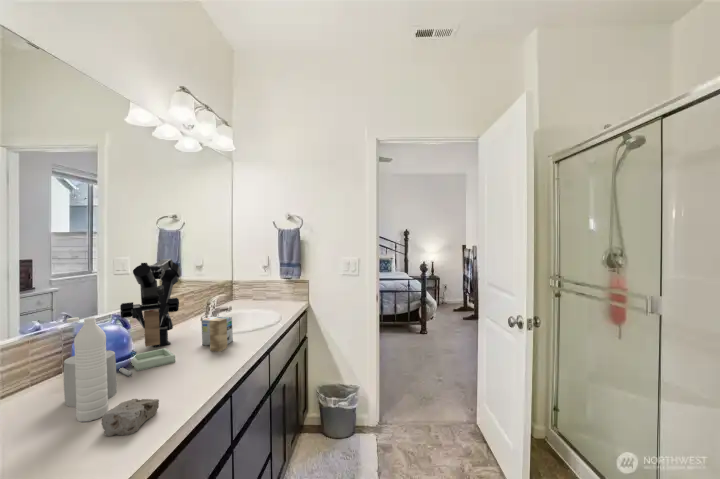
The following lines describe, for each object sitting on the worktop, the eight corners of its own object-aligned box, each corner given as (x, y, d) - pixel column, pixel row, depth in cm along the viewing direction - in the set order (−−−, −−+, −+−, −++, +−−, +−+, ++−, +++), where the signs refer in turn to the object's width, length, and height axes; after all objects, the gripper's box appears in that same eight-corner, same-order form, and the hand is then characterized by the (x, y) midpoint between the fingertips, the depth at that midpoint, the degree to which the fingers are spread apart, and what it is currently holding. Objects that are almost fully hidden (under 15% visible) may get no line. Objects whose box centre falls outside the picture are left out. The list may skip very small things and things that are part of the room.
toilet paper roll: (125, 393, 105) (124, 353, 105) (77, 411, 95) (76, 367, 95) (103, 385, 111) (102, 348, 111) (55, 401, 100) (54, 360, 100)
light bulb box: (233, 340, 156) (232, 316, 156) (226, 345, 149) (225, 319, 149) (209, 340, 157) (209, 316, 157) (201, 345, 150) (200, 319, 150)
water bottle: (114, 409, 95) (111, 314, 95) (96, 422, 89) (92, 320, 88) (81, 410, 95) (78, 315, 95) (60, 422, 89) (57, 321, 88)
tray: (129, 362, 131) (129, 355, 131) (165, 354, 140) (165, 347, 140) (137, 370, 123) (136, 363, 123) (175, 361, 131) (175, 355, 131)
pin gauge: (117, 371, 122) (117, 367, 122) (122, 370, 123) (122, 366, 123) (127, 377, 117) (127, 372, 117) (132, 375, 118) (132, 371, 118)
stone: (163, 407, 96) (121, 413, 94) (161, 386, 95) (118, 392, 93) (145, 439, 83) (96, 447, 81) (142, 415, 82) (92, 423, 80)
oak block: (210, 350, 143) (209, 320, 143) (218, 347, 147) (217, 317, 147) (219, 351, 142) (219, 321, 142) (227, 348, 146) (226, 318, 146)
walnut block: (144, 343, 132) (143, 310, 132) (159, 341, 134) (158, 308, 134) (145, 346, 128) (144, 312, 128) (159, 344, 130) (158, 310, 130)
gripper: (119, 281, 129) (120, 317, 120) (177, 276, 139) (182, 310, 130) (120, 299, 136) (121, 335, 127) (176, 294, 146) (180, 327, 137)
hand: (152, 326), depth 130 cm, fingers closed on walnut block, 4 cm apart
